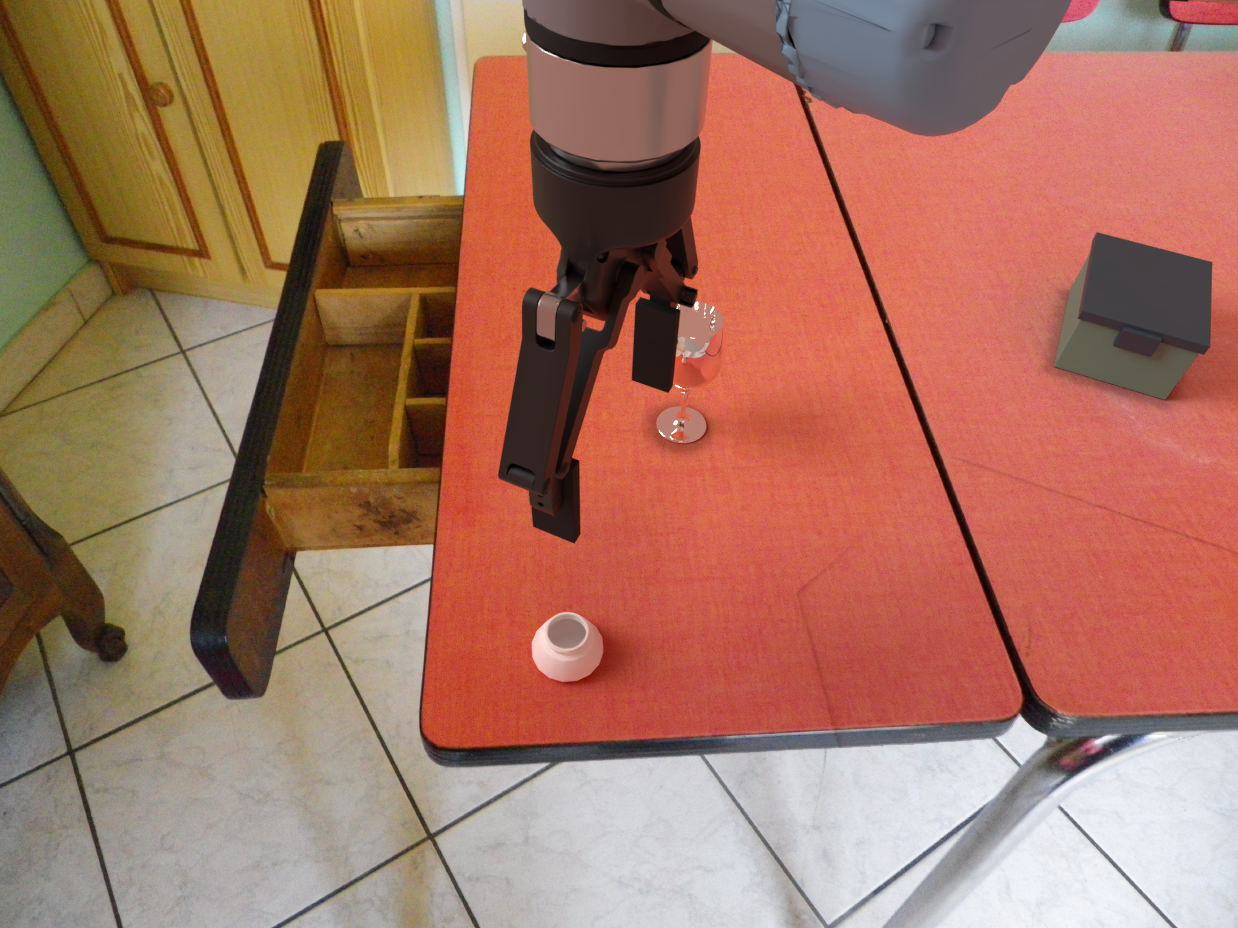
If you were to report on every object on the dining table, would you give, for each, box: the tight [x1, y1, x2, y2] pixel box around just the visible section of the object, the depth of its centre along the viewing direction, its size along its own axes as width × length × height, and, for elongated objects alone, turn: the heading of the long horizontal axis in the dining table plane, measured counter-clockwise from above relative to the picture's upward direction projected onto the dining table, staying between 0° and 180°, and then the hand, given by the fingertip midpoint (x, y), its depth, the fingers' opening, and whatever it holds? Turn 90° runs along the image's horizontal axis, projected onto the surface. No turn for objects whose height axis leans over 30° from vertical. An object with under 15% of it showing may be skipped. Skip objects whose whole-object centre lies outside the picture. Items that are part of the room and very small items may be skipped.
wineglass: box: [655, 300, 727, 444], centre depth 71 cm, size 6×6×12 cm
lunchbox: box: [1053, 231, 1213, 401], centre depth 81 cm, size 15×11×7 cm
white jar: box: [531, 611, 604, 683], centre depth 59 cm, size 5×3×5 cm
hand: (608, 451), depth 53 cm, fingers open, 13 cm apart
